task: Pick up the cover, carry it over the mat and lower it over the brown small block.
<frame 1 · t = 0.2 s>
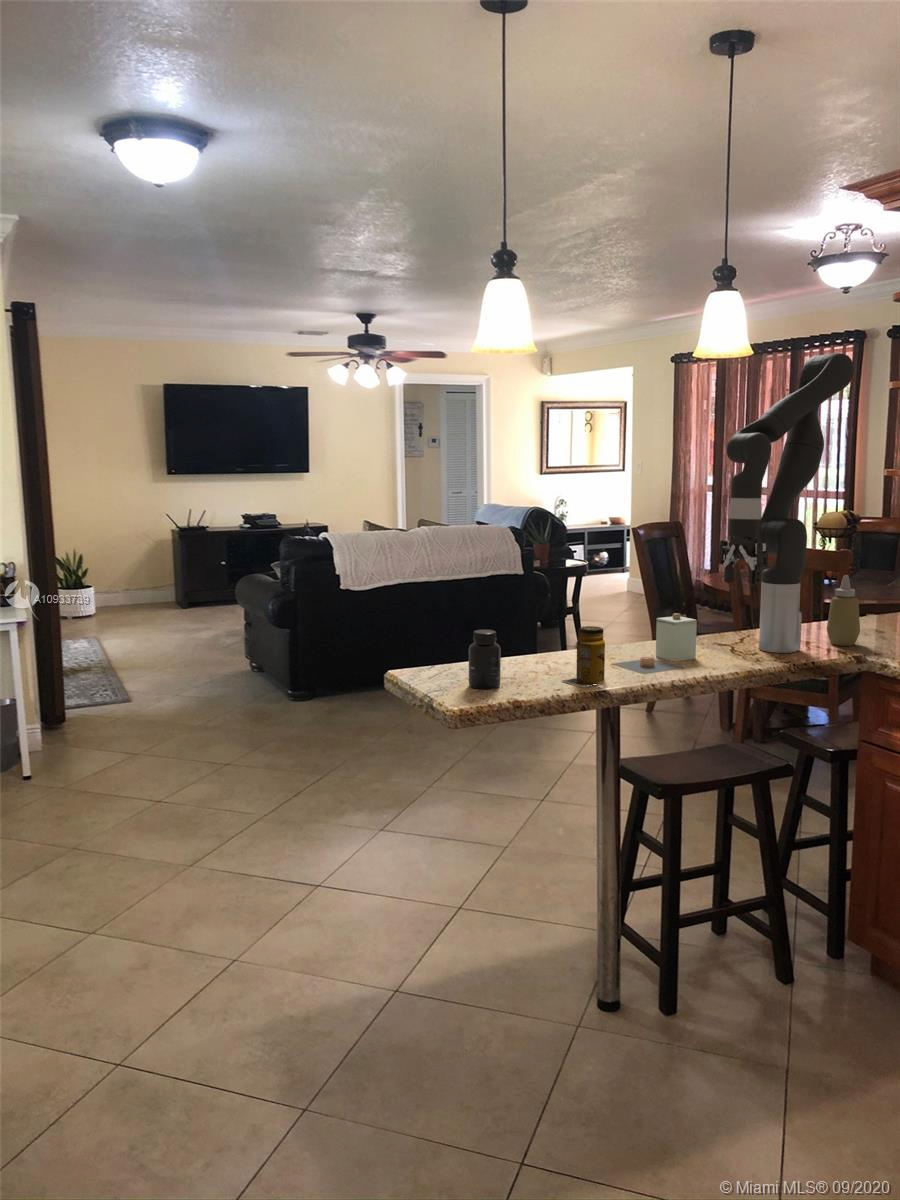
hand: (741, 584, 219), 18 cm above the worktop, tool pointing down, fingers open, 8 cm apart
condiment: (586, 683, 196), on the worktop
supplement bottle: (484, 687, 194), on the worktop
cover: (675, 659, 218), on the worktop
mat: (647, 668, 209), on the worktop
brown small block: (647, 665, 209), resting on mat
squeeze bottle: (842, 644, 234), on the worktop
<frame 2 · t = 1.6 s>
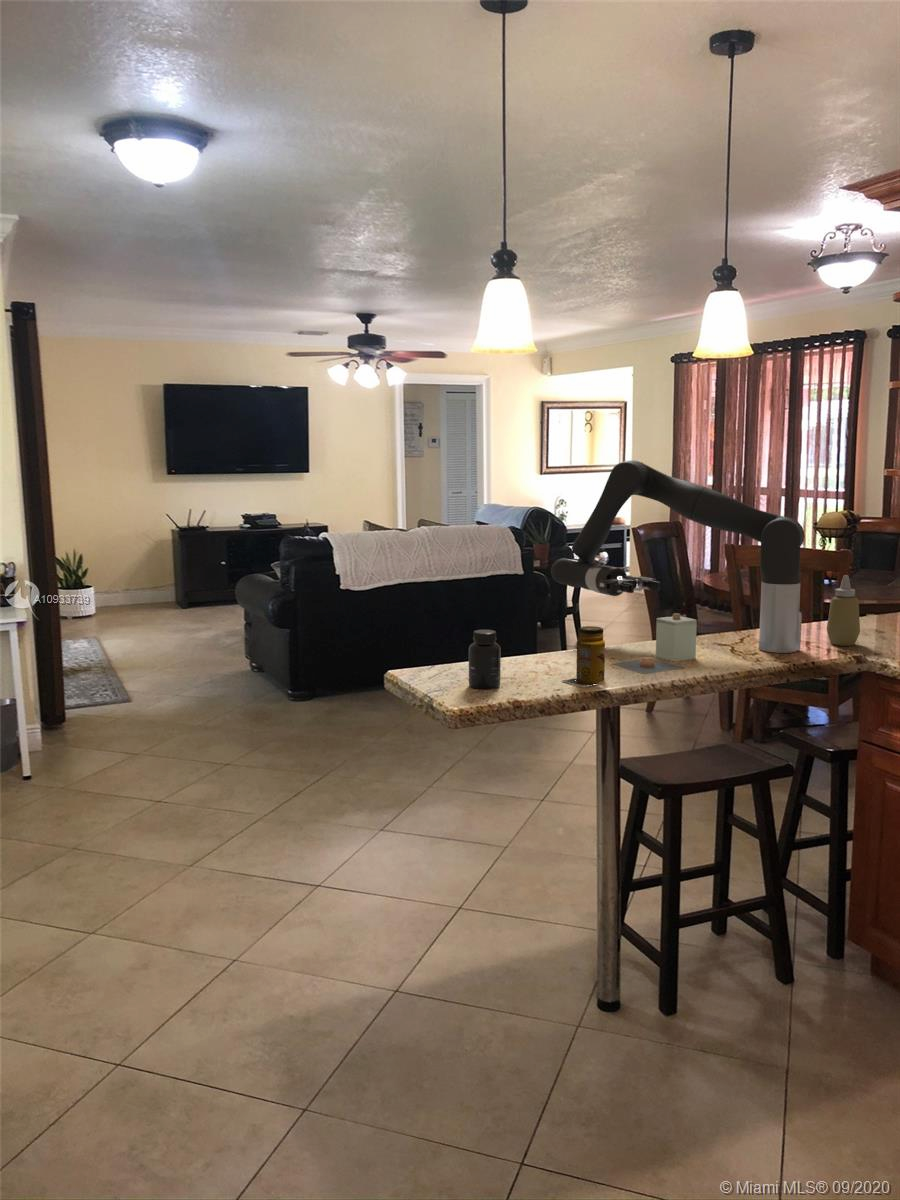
hand: (646, 587, 225), 16 cm above the worktop, tool horizontal, fingers open, 8 cm apart
nothing on the worktop moved.
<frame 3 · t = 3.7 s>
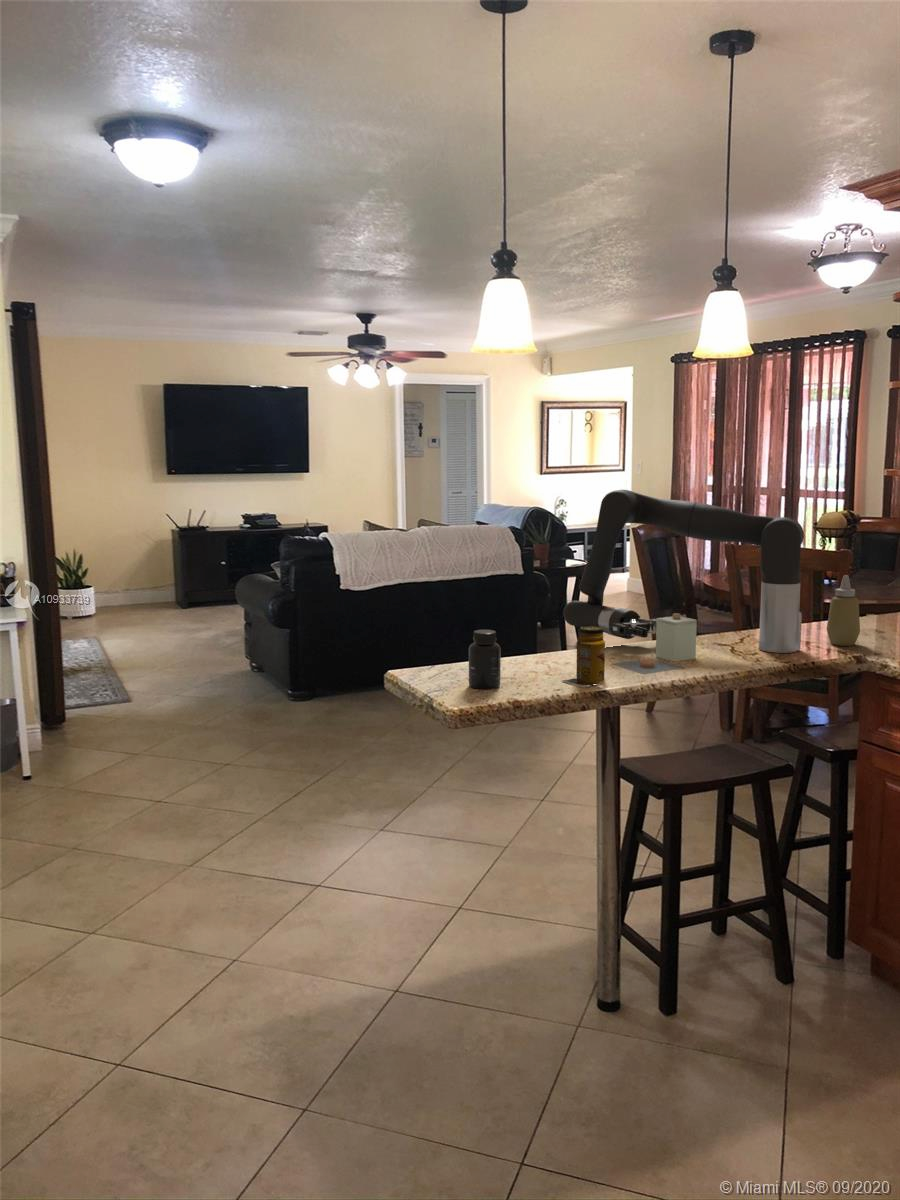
hand: (660, 631, 222), 6 cm above the worktop, tool horizontal, fingers open, 8 cm apart
nothing on the worktop moved.
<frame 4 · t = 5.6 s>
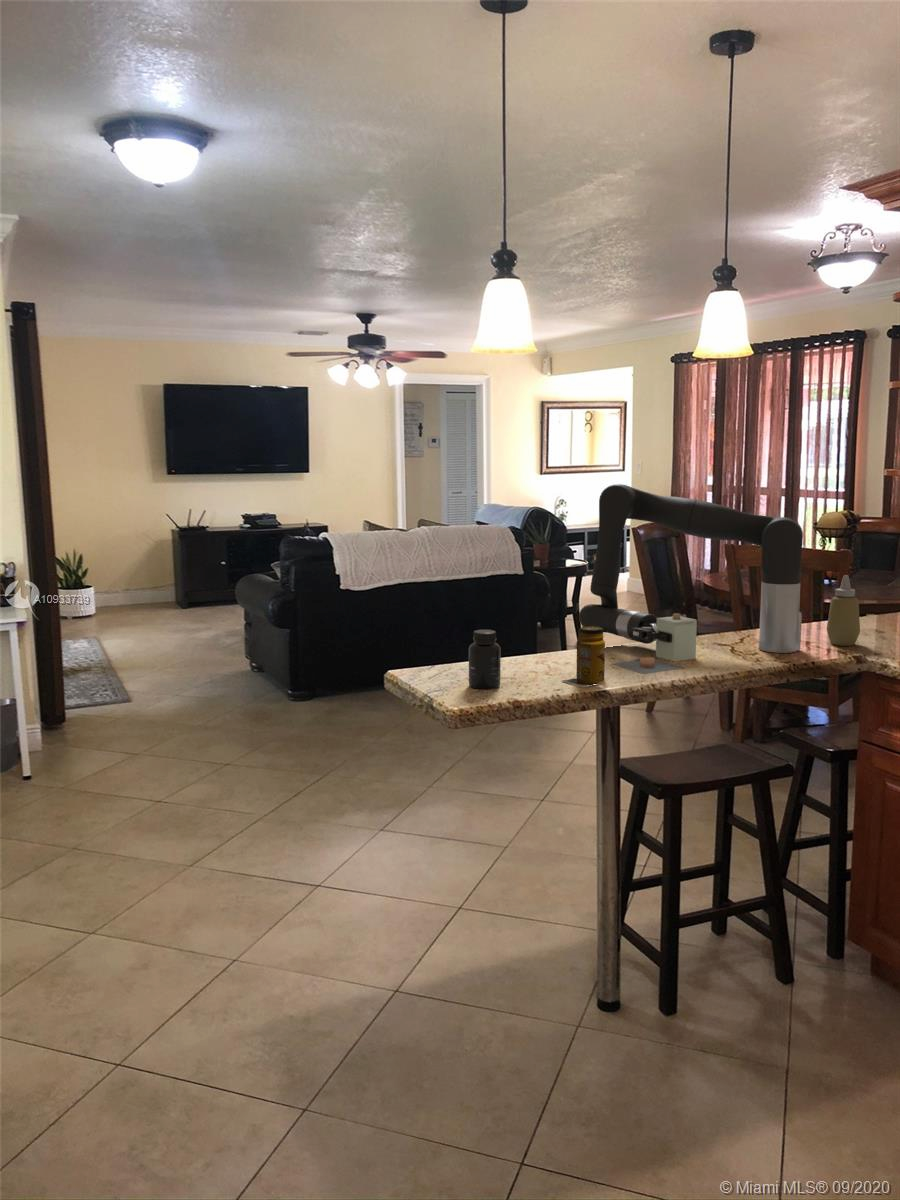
hand: (682, 636, 215), 6 cm above the worktop, tool horizontal, fingers closed on cover, 6 cm apart
cover: (675, 659, 218), on the worktop, touching gripper
everything else where it was.
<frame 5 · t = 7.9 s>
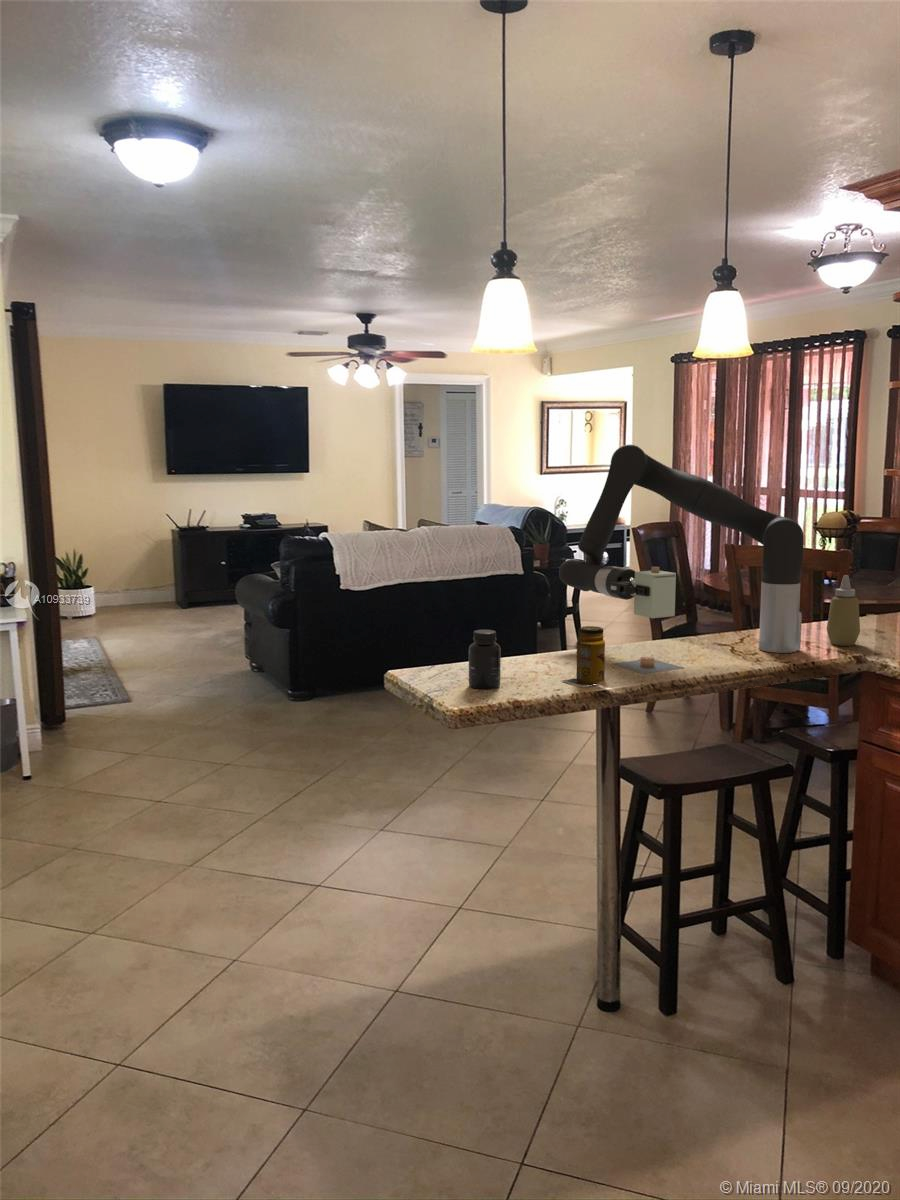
hand: (661, 590, 207), 18 cm above the worktop, tool horizontal, fingers closed on cover, 6 cm apart
cover: (654, 615, 210), point 12 cm above the worktop, touching gripper
everything else where it was.
when the fingers open (9 cm above the worktop, at t = 10.5 s): cover drops 2 cm, resting on mat.
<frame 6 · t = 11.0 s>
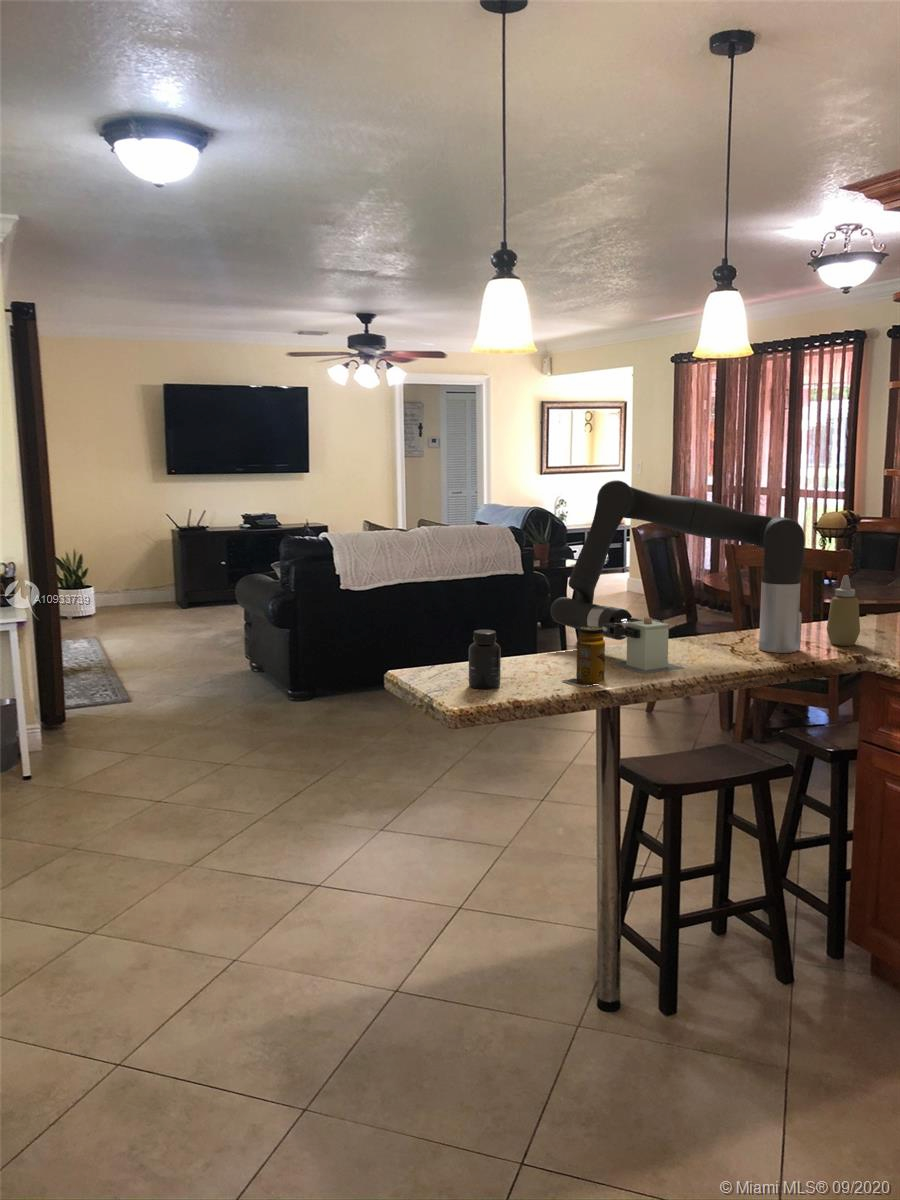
hand: (653, 632, 206), 9 cm above the worktop, tool horizontal, fingers open, 8 cm apart
cover: (646, 665, 209), point 1 cm above the worktop, touching mat
everything else where it was.
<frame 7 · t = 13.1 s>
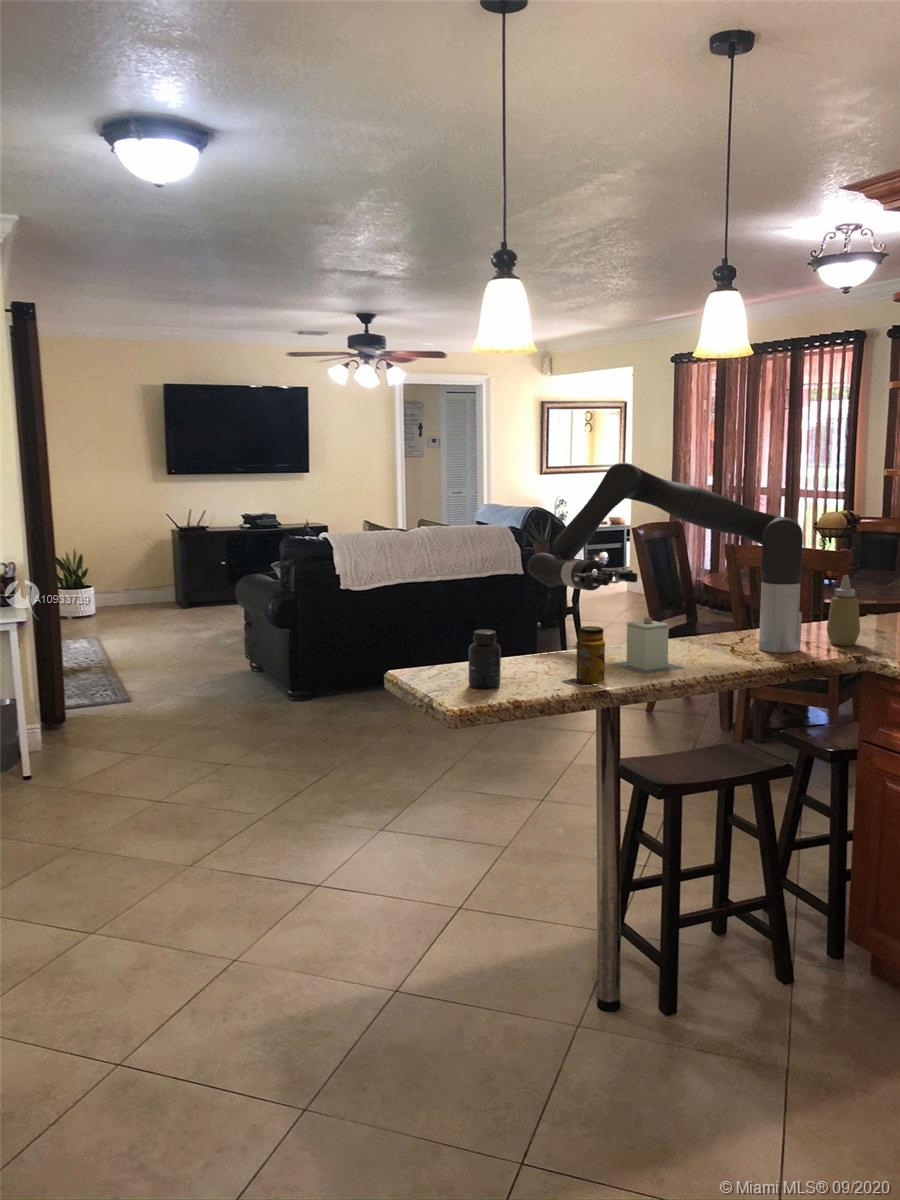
hand: (622, 579, 216), 19 cm above the worktop, tool horizontal, fingers open, 8 cm apart
nothing on the worktop moved.
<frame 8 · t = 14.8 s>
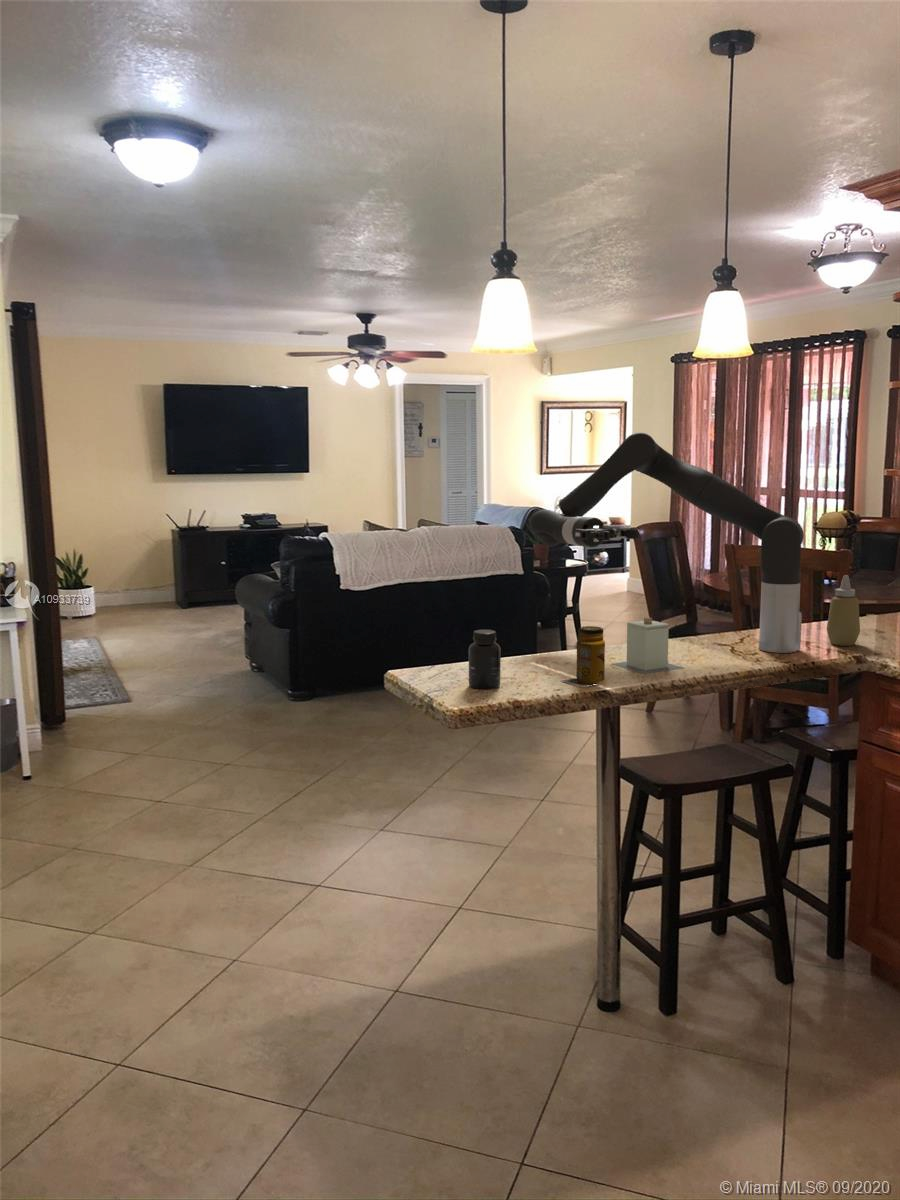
hand: (623, 535, 216), 30 cm above the worktop, tool horizontal, fingers open, 8 cm apart
nothing on the worktop moved.
at the end: cover 0.1 cm from the brown small block (horizontally); cover tilted 0°; cover point 0.6 cm above the worktop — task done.
